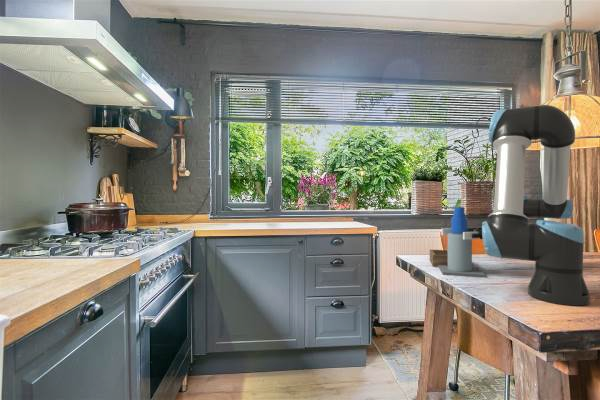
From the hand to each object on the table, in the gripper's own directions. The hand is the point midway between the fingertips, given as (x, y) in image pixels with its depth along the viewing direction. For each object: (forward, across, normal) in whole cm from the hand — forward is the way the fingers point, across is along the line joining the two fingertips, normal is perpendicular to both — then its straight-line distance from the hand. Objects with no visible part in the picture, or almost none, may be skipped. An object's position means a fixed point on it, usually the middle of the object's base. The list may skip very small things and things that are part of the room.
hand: (452, 233), depth 137 cm
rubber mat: (-4, 0, -16) cm, 16 cm away
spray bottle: (-4, 0, -15) cm, 15 cm away
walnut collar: (-9, +14, -16) cm, 23 cm away
